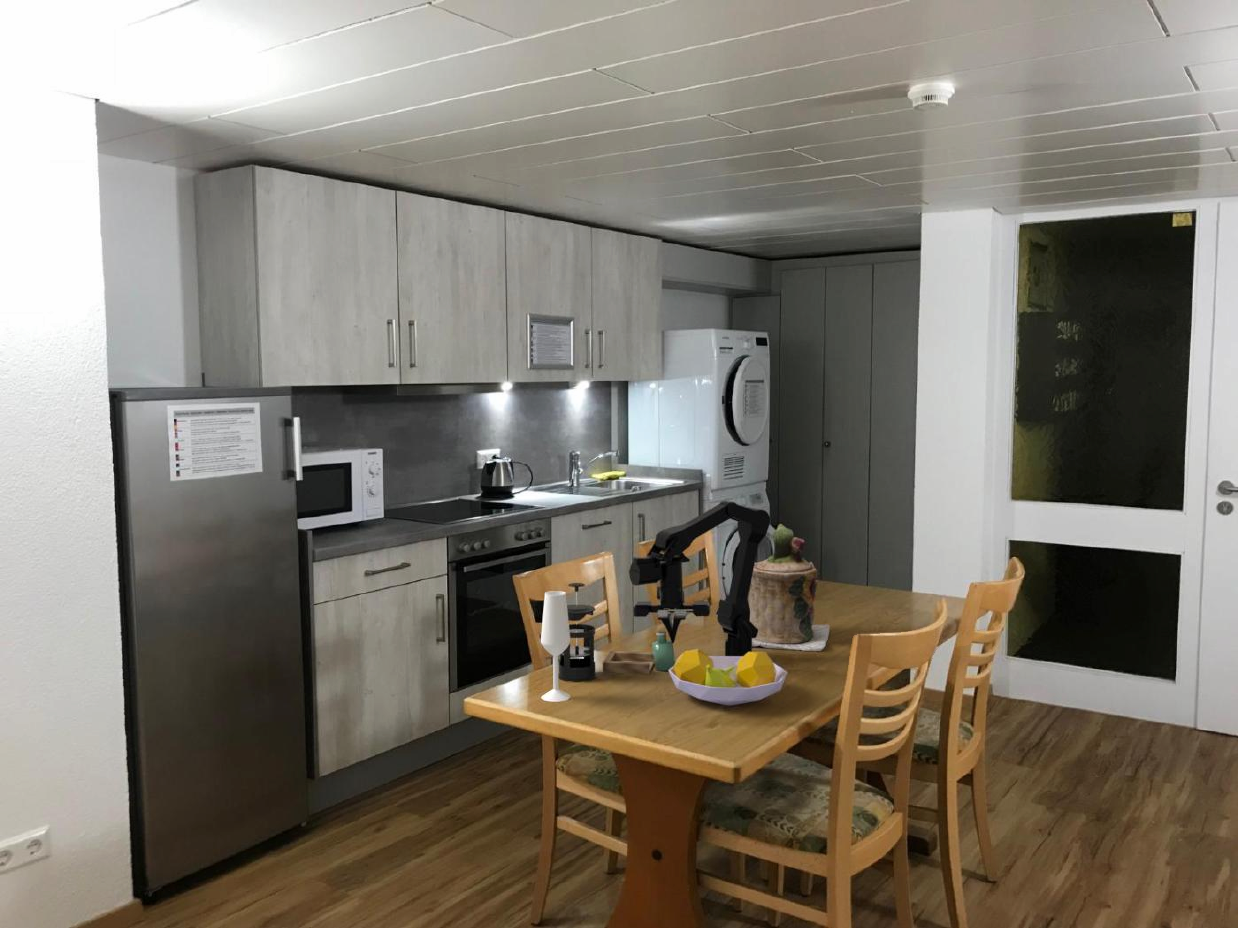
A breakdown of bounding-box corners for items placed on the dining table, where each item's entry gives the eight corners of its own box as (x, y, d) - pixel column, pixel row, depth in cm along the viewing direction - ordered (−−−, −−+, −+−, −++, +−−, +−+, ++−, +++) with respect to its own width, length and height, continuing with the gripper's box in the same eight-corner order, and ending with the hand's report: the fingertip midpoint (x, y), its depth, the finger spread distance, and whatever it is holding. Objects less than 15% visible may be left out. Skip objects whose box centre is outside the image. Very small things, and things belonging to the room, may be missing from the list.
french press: (605, 674, 246) (605, 582, 245) (585, 684, 238) (584, 589, 237) (566, 668, 252) (565, 577, 251) (544, 677, 244) (543, 584, 243)
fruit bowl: (710, 673, 248) (710, 627, 247) (808, 694, 231) (808, 645, 230) (640, 700, 226) (640, 651, 226) (742, 725, 209) (742, 672, 208)
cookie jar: (732, 647, 273) (733, 530, 270) (745, 626, 297) (746, 518, 294) (825, 653, 266) (826, 533, 264) (831, 631, 290) (832, 521, 287)
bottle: (676, 663, 254) (672, 628, 254) (674, 669, 249) (670, 633, 248) (656, 665, 255) (652, 630, 254) (654, 671, 250) (649, 635, 249)
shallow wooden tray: (654, 661, 258) (654, 652, 258) (648, 673, 247) (648, 664, 247) (610, 660, 260) (610, 650, 259) (602, 671, 249) (602, 662, 249)
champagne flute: (537, 694, 231) (536, 591, 229) (565, 691, 233) (564, 589, 231) (546, 702, 224) (545, 597, 223) (574, 699, 227) (574, 594, 225)
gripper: (710, 574, 257) (712, 635, 258) (638, 575, 259) (640, 635, 260) (707, 582, 246) (709, 645, 247) (632, 583, 248) (634, 645, 249)
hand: (673, 642), depth 251 cm, fingers closed, pressing on bottle
